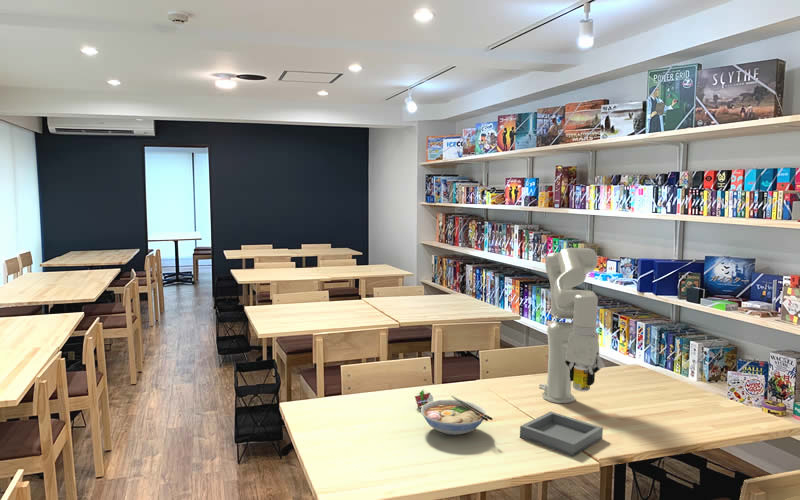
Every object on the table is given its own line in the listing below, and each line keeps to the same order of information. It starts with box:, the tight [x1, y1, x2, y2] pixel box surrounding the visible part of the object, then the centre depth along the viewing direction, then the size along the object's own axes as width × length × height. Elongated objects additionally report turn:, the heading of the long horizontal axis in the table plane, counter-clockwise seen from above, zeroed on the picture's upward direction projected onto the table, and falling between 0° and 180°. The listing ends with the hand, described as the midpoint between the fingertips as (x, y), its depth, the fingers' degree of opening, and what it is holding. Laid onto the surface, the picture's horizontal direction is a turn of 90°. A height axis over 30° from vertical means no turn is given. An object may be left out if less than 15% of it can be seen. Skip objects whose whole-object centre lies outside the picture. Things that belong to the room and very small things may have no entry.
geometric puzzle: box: [414, 389, 434, 408], centre depth 225 cm, size 7×7×8 cm
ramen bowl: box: [420, 395, 493, 436], centre depth 203 cm, size 25×23×8 cm
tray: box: [519, 411, 604, 457], centre depth 199 cm, size 20×20×4 cm
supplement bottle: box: [572, 364, 591, 392], centre depth 199 cm, size 6×6×10 cm
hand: (581, 381), depth 199 cm, fingers closed on supplement bottle, 5 cm apart
